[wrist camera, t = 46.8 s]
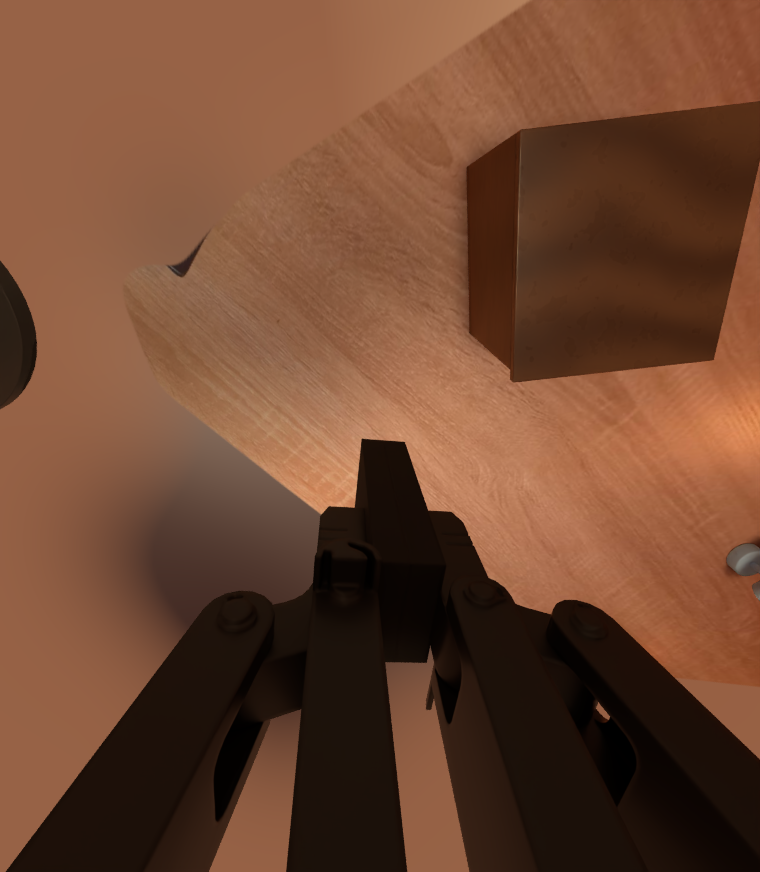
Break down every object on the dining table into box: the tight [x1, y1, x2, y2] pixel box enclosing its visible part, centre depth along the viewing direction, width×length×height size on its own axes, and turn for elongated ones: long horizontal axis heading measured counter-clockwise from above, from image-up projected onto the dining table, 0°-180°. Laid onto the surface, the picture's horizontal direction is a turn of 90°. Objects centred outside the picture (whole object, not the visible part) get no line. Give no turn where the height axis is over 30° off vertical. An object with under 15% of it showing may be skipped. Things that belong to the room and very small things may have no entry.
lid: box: [510, 101, 760, 382], centre depth 30 cm, size 16×16×1 cm
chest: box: [467, 133, 516, 369], centre depth 37 cm, size 16×16×14 cm
